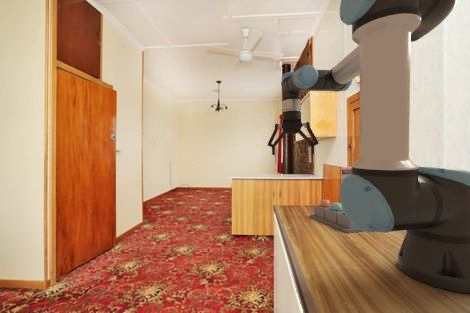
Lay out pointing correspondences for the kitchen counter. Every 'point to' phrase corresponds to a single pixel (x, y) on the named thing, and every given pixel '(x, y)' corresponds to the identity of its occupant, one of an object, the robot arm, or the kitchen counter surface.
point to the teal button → (337, 207)
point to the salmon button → (325, 203)
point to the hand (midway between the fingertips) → (292, 162)
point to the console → (334, 219)
